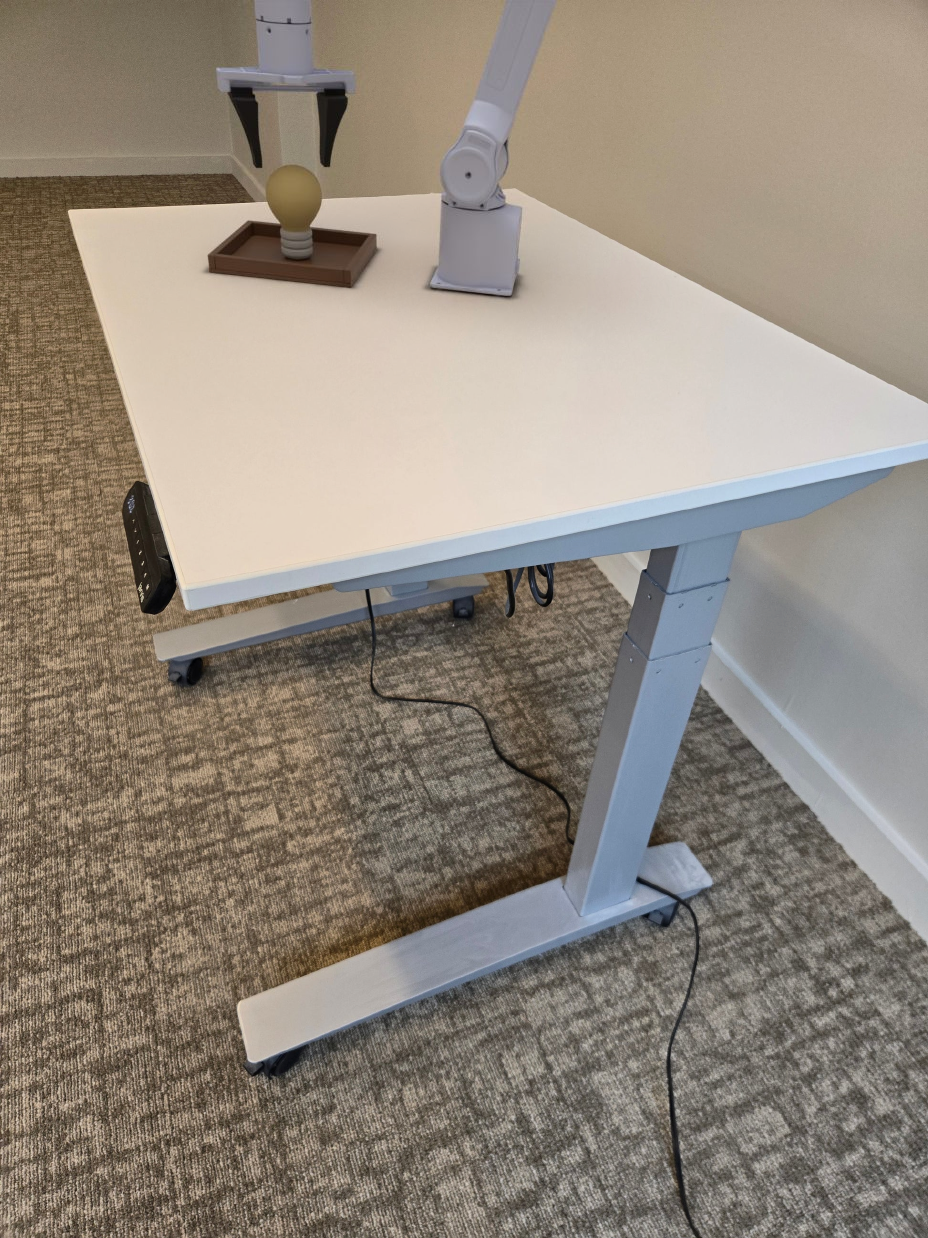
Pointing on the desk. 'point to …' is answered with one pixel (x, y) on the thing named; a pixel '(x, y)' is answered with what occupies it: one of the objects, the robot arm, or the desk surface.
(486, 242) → the robot arm
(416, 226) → the desk surface
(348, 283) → the tray
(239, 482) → the desk surface
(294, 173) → the light bulb
